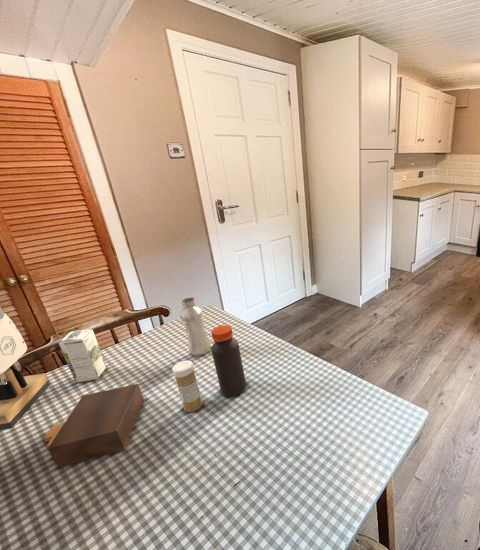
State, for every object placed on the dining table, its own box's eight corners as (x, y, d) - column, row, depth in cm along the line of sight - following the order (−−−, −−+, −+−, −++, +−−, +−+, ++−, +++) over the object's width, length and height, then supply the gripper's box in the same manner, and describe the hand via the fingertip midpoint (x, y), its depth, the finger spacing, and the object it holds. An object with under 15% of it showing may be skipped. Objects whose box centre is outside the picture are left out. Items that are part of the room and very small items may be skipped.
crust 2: (60, 456, 68) (53, 458, 67) (69, 442, 71) (62, 443, 71) (53, 444, 66) (46, 445, 66) (62, 429, 70) (56, 431, 69)
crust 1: (64, 433, 72) (66, 437, 73) (73, 420, 76) (75, 424, 76) (43, 438, 71) (45, 442, 71) (53, 425, 74) (55, 428, 75)
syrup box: (85, 371, 95) (68, 331, 89) (107, 367, 96) (92, 328, 91) (75, 383, 90) (56, 342, 84) (99, 379, 91) (82, 338, 86)
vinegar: (215, 395, 85) (201, 334, 78) (231, 379, 91) (219, 321, 84) (236, 399, 84) (224, 338, 76) (251, 383, 90) (240, 324, 82)
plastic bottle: (216, 347, 106) (204, 296, 98) (201, 359, 100) (188, 306, 92) (200, 345, 108) (188, 294, 100) (185, 356, 101) (171, 303, 94)
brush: (12, 428, 61) (-9, 391, 57) (-15, 433, 60) (-38, 396, 56) (50, 384, 72) (35, 351, 69) (29, 388, 71) (12, 355, 68)
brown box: (52, 469, 65) (41, 449, 63) (86, 414, 79) (77, 396, 77) (124, 450, 69) (116, 431, 67) (144, 400, 83) (138, 383, 81)
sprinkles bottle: (186, 401, 83) (175, 361, 78) (205, 398, 84) (194, 358, 79) (181, 414, 79) (169, 372, 74) (200, 411, 80) (189, 369, 75)
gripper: (-34, 336, 52) (10, 417, 59) (25, 297, 66) (55, 366, 73) (-97, 344, 50) (-43, 428, 56) (-22, 302, 64) (14, 373, 70)
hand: (12, 392), depth 65 cm, fingers closed on brush, 2 cm apart
